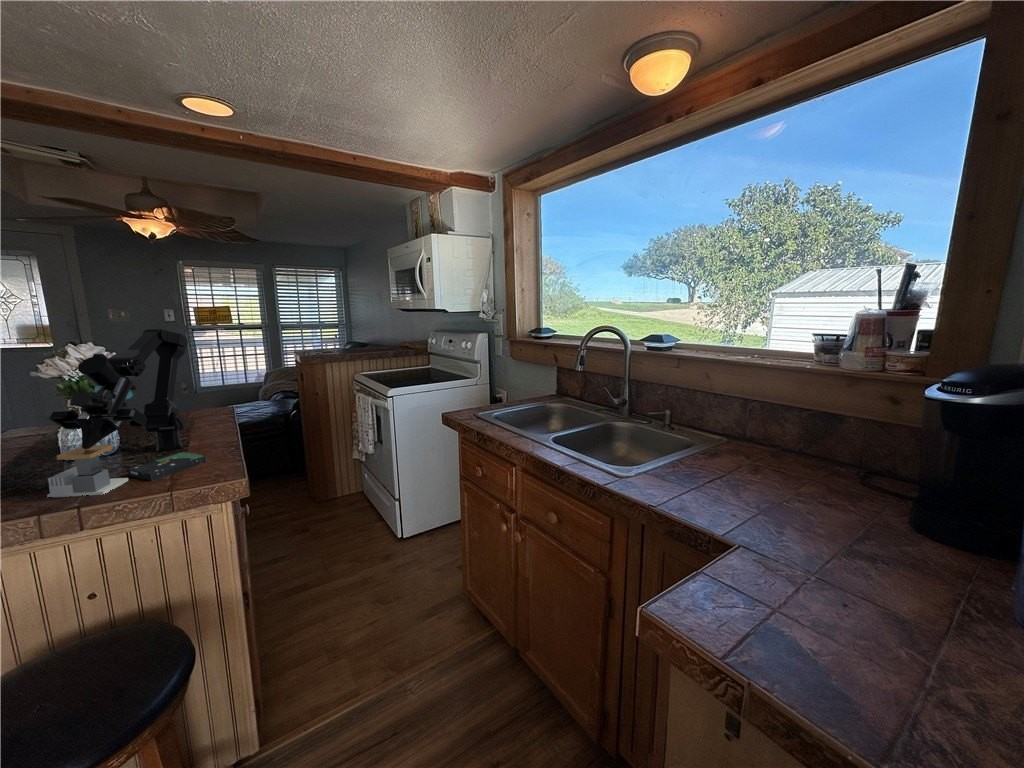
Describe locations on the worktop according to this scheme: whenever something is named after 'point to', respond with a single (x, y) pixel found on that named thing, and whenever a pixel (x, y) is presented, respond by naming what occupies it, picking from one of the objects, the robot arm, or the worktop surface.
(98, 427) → the robot arm
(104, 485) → the heat sink board
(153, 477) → the disk drive
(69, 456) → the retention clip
